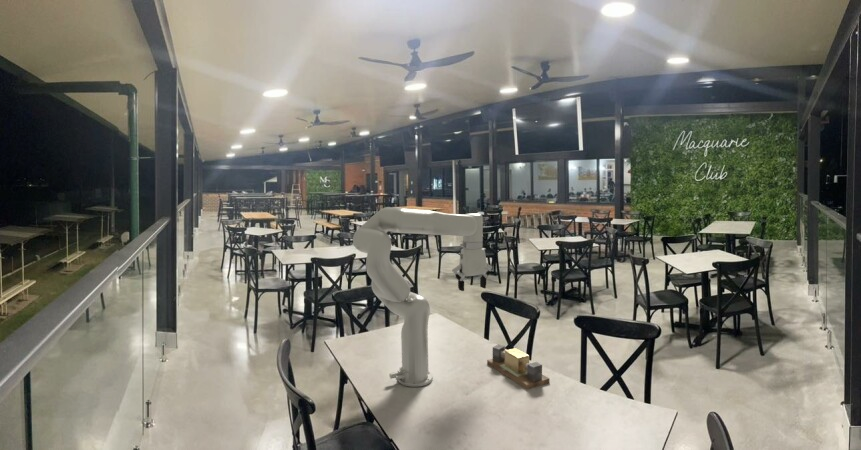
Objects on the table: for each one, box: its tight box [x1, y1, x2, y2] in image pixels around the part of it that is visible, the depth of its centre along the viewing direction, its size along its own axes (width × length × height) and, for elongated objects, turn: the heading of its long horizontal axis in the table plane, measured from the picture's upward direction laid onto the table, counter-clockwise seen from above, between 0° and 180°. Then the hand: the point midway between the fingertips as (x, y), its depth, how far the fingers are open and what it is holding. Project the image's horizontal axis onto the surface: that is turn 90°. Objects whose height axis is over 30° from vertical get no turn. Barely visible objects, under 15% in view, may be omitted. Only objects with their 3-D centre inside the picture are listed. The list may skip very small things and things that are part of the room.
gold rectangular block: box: [505, 347, 530, 374], centre depth 174 cm, size 5×8×6 cm, turn 28°
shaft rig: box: [486, 344, 550, 390], centre depth 174 cm, size 10×24×7 cm, turn 27°
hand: (472, 288), depth 184 cm, fingers open, 9 cm apart
